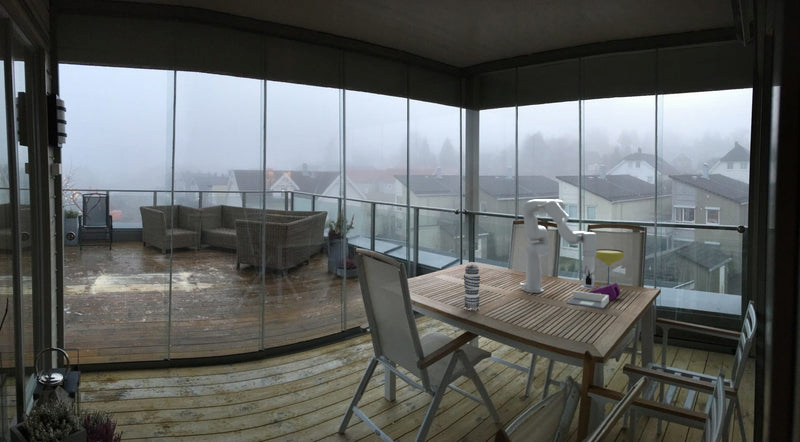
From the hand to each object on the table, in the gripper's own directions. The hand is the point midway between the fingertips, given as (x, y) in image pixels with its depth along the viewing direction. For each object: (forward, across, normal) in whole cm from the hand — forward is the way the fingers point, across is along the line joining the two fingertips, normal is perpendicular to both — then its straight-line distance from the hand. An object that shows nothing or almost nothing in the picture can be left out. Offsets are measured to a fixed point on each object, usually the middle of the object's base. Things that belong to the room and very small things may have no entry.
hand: (588, 284), depth 271 cm
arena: (+11, 0, 0) cm, 11 cm away
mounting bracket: (+12, -19, +3) cm, 22 cm away
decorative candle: (+11, +47, -52) cm, 71 cm away
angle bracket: (+1, +2, 0) cm, 3 cm away
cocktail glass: (+11, -47, +2) cm, 48 cm away
